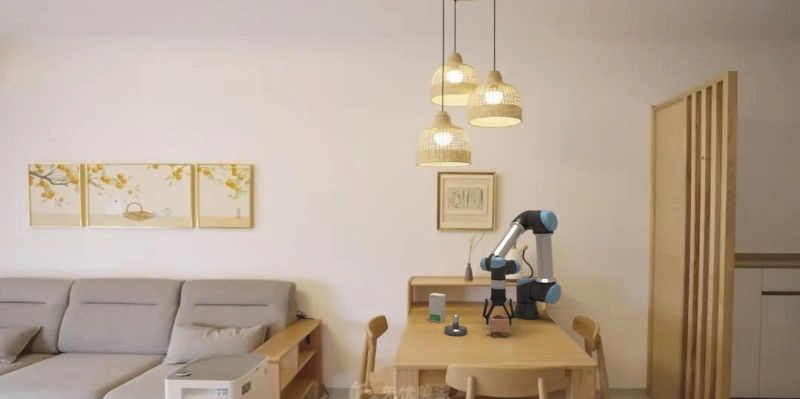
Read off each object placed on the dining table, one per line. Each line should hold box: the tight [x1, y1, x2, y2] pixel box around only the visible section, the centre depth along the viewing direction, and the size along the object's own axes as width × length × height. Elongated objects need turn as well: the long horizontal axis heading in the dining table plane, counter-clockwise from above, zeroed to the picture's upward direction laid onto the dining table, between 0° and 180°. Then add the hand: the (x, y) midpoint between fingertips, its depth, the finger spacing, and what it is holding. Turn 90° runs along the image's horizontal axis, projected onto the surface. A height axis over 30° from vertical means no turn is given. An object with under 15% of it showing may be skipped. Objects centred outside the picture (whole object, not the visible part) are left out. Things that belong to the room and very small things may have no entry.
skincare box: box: [428, 292, 447, 323], centre depth 248 cm, size 8×7×16 cm
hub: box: [443, 313, 468, 337], centre depth 223 cm, size 12×12×10 cm
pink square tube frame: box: [489, 314, 510, 333], centre depth 219 cm, size 9×9×6 cm
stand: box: [490, 314, 508, 338], centre depth 219 cm, size 7×7×10 cm
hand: (498, 331), depth 219 cm, fingers closed on pink square tube frame, 9 cm apart
